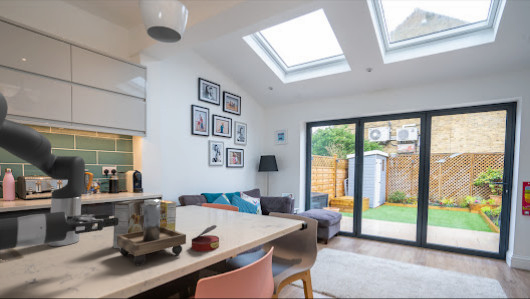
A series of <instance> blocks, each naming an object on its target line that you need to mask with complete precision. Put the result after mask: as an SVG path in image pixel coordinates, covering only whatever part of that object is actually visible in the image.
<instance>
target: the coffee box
mask: <svg viewBox="0 0 530 299" xmlns="http://www.w3.org/2000/svg"><path fill="white" fill-rule="evenodd" d="M144 200H145V199H144ZM144 200H143V199H142V200H140V199H137V200H136V199H130V200H126V201H125V200H124V201H120V202H115V203H114V206H113V207H114V208H113V210H114V211H113V218H115V217H117V218H118V225H116V226H113V238H112V241H113V243H112V248H113V249H120V248H121V247H120V246H118V245H117V235H122V234H127V233H133V232H138V231H143V228H144Z"/></svg>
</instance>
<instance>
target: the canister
mask: <svg viewBox="0 0 530 299" xmlns="http://www.w3.org/2000/svg"><path fill="white" fill-rule="evenodd" d="M161 200H162V199H161V198H160V199H159V198H157V199H156V198H152V199H151V198H150V199H144V228H143V241H144V242H150V241H155V240H159V239H160V205H161Z"/></svg>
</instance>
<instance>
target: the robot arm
mask: <svg viewBox="0 0 530 299" xmlns="http://www.w3.org/2000/svg"><path fill="white" fill-rule="evenodd" d="M7 114H8V102H7V99H6V97H5V96H4V95H3V93H1V92H0V148H1V149H3V150H5V151H7V153H10V154H11V155H13V156H15V157H16V158H18V159H20V160H23V161H24V162H26V163H28V164H30V165H32V166H34V167H36V168H37V169H38V170H40V171H41V172H42V173H43V174H45V175H46V176H47V177H49V178H51V179H53V180H58V181H67V182H66V184H65V185H64V186H63V187H59V188H57V189H54V190H52V192H51V199H50V200H51V201H50V212H45V213H39V214H38V213H36V214H28V215H24V216H18V217H9V218H0V251H3V250H10V249H14V248H24V247H32V246H38V245H39V246H40V245H44V244H48V245H49V246H52V247H58V246H59V247H60V246H67V245H71V244H75V243H78V242H79V241H80V234H86V233H91V232H98V231H99V232H101V231H102V230H103V229H104V228H110V227H114V226H116V225H118V218H117V217H115V218H114V217H110V214H109V213H102V214H91V213H86V214H81V213H82V194H83V189H84V181H85V175H86V174H85V172H86V164H85V160H84V158H83V157H81V156H78V155H77V156H73V155H72V156H71V155H70V156H69V155H67V156H65V155H62V156H61V155H56V154H54V153H52V150H53V149H52V143H51V142H50V140H49V139H48V138H47V137H46V136H44V135H43V134H42V133H41V132H40V131H37V129H34V128H33V127H30V126H27V125H25V124H24V123H23V124H22V123H19V122H16V121H14V120H10V119H6V117H7ZM96 224H97V225H96Z"/></svg>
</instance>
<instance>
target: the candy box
mask: <svg viewBox="0 0 530 299" xmlns="http://www.w3.org/2000/svg"><path fill="white" fill-rule="evenodd" d="M160 200H161V205H160V227H166V228H169V229H172V230H175V231H176V223H177V222H176V220H177V219H176V218H177V216H176V215H177V202H176V201H172V200H166V199H160Z"/></svg>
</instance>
